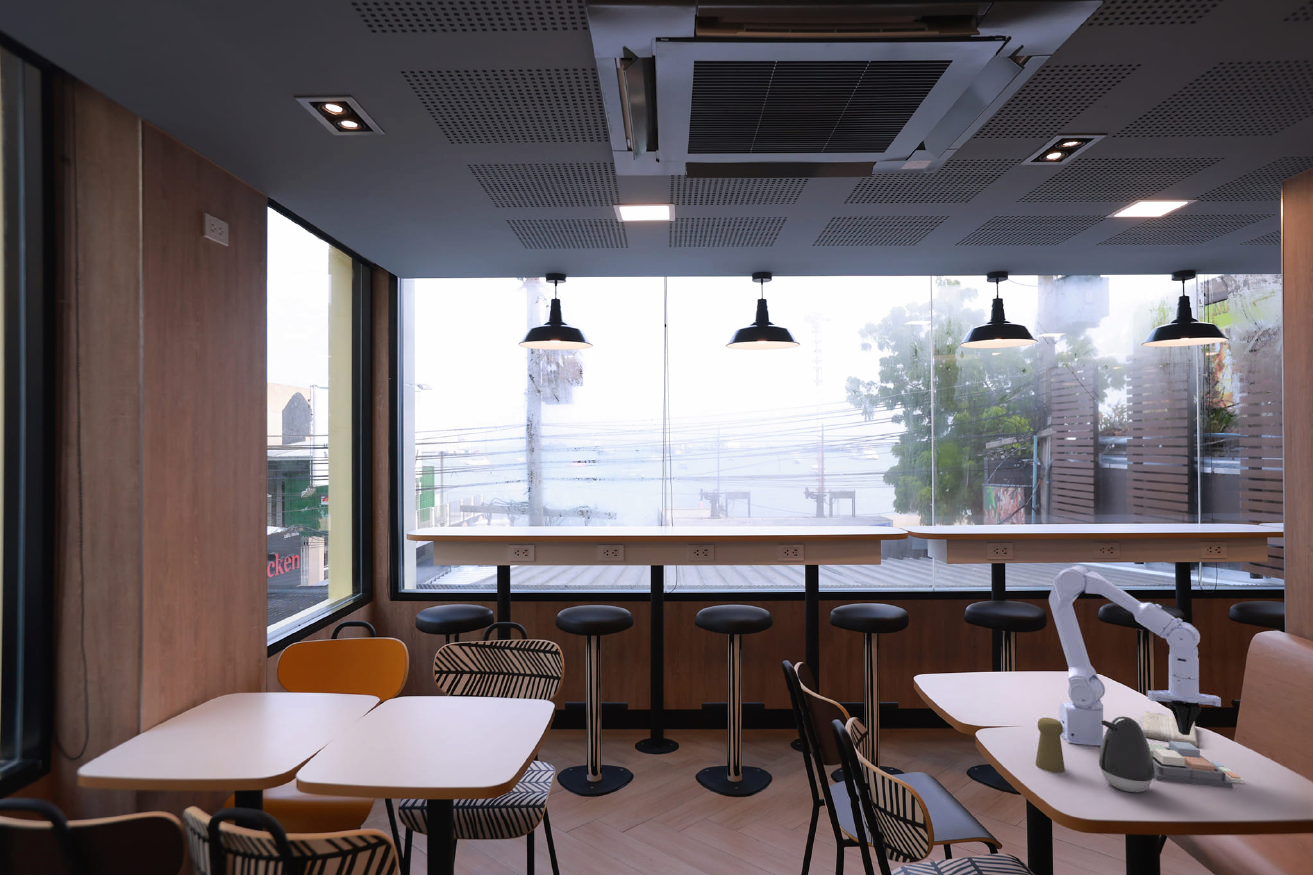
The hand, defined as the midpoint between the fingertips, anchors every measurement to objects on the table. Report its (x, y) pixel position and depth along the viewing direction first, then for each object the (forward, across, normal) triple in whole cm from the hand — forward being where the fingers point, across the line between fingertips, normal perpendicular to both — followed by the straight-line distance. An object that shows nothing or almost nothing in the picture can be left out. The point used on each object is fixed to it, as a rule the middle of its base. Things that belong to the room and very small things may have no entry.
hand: (1183, 733), depth 166 cm
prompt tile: (+8, +7, -3) cm, 11 cm away
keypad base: (+7, -3, -3) cm, 8 cm away
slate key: (+5, 0, 0) cm, 5 cm away
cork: (+8, -32, -9) cm, 34 cm away
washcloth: (+8, +7, +23) cm, 25 cm away
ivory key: (+5, -6, -6) cm, 10 cm away
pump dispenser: (+8, -19, -16) cm, 26 cm away
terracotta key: (+6, 0, -6) cm, 8 cm away
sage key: (+6, -6, 0) cm, 8 cm away
